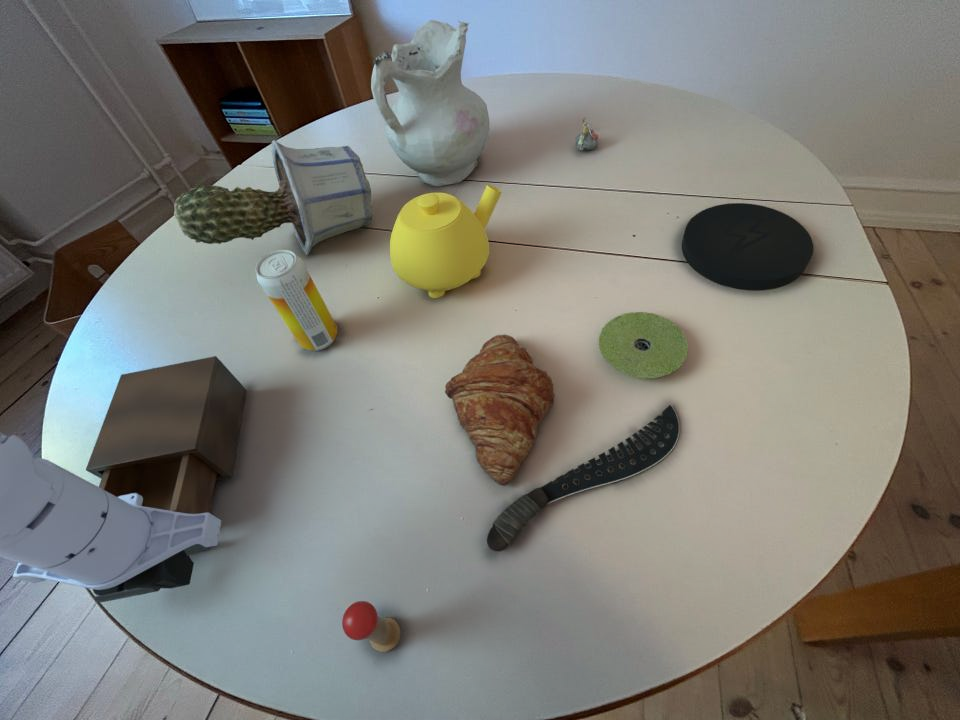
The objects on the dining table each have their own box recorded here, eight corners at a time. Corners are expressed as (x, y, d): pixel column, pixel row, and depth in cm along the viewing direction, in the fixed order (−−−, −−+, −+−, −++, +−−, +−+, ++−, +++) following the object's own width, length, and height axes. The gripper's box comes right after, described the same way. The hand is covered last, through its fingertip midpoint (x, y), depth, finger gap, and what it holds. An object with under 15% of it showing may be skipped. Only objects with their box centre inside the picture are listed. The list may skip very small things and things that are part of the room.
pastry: (593, 414, 61) (598, 377, 54) (500, 493, 56) (494, 463, 50) (505, 340, 70) (501, 301, 63) (419, 402, 65) (404, 367, 59)
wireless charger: (680, 283, 72) (683, 273, 71) (682, 210, 82) (685, 200, 81) (815, 296, 68) (821, 286, 66) (800, 217, 78) (805, 206, 76)
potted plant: (338, 117, 86) (145, 138, 73) (380, 163, 77) (166, 198, 64) (346, 206, 99) (183, 238, 86) (383, 255, 90) (206, 299, 77)
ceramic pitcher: (458, 217, 90) (444, 75, 70) (370, 192, 96) (333, 54, 75) (505, 155, 101) (505, 16, 81) (423, 136, 107) (404, 2, 86)
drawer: (202, 593, 52) (165, 579, 47) (97, 614, 52) (49, 602, 47) (228, 451, 63) (200, 427, 58) (141, 468, 63) (105, 445, 58)
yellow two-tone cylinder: (327, 316, 77) (286, 241, 65) (346, 337, 74) (307, 262, 62) (293, 337, 75) (245, 264, 63) (311, 360, 72) (263, 287, 60)
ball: (366, 650, 42) (355, 645, 39) (342, 628, 43) (329, 622, 41) (388, 618, 43) (379, 611, 41) (364, 597, 44) (354, 590, 42)
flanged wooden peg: (387, 659, 47) (366, 650, 42) (365, 639, 49) (342, 628, 43) (406, 630, 49) (388, 618, 43) (384, 611, 50) (364, 597, 44)
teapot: (481, 218, 87) (471, 145, 76) (532, 263, 79) (529, 188, 68) (382, 267, 82) (356, 196, 71) (425, 321, 74) (404, 250, 63)
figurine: (584, 139, 99) (586, 109, 94) (603, 145, 97) (606, 115, 92) (569, 151, 97) (570, 122, 92) (588, 158, 95) (590, 127, 90)
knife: (697, 437, 58) (667, 406, 61) (702, 430, 57) (670, 399, 59) (501, 569, 51) (476, 528, 54) (501, 566, 50) (475, 523, 52)
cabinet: (232, 477, 61) (194, 448, 55) (133, 497, 61) (85, 470, 55) (247, 390, 70) (216, 355, 63) (160, 407, 70) (120, 374, 63)
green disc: (586, 331, 69) (586, 322, 67) (661, 312, 69) (664, 303, 68) (616, 395, 62) (618, 387, 60) (700, 374, 62) (704, 365, 61)
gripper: (182, 451, 36) (267, 515, 47) (-13, 491, 36) (118, 546, 46) (159, 548, 31) (259, 594, 42) (-62, 594, 31) (94, 628, 42)
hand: (184, 574), depth 44 cm, fingers closed
